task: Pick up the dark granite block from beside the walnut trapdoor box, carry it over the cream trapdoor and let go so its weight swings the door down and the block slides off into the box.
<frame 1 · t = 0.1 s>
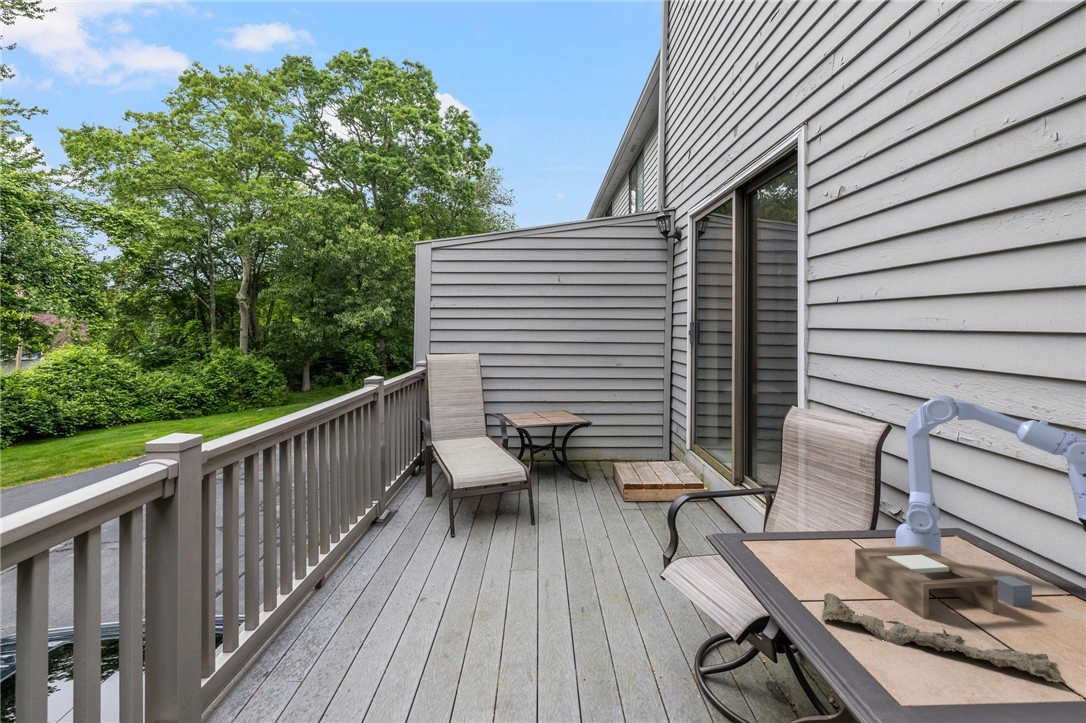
trapdoor box: (921, 594, 110), on the table
granite block: (1011, 601, 107), on the table
tree branch: (927, 644, 92), on the table
trapdoor: (917, 563, 111), point 6 cm above the table, hinge at 0.0°
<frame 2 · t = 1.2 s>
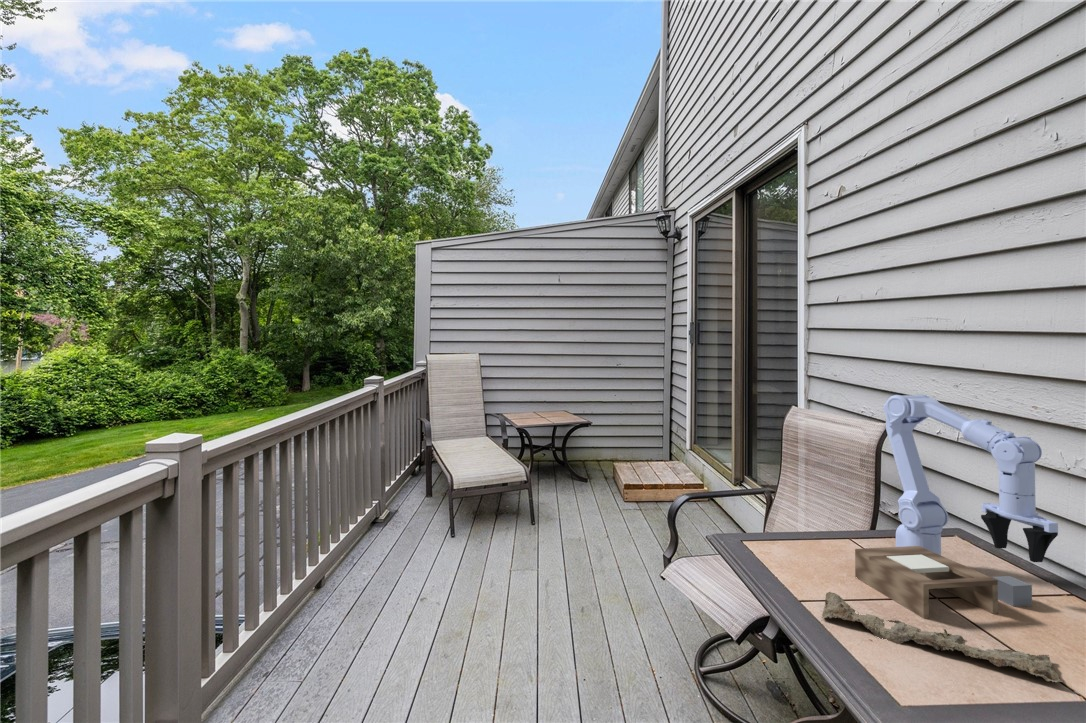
hand: (1017, 554, 106), 10 cm above the table, tool pointing down, fingers open, 7 cm apart
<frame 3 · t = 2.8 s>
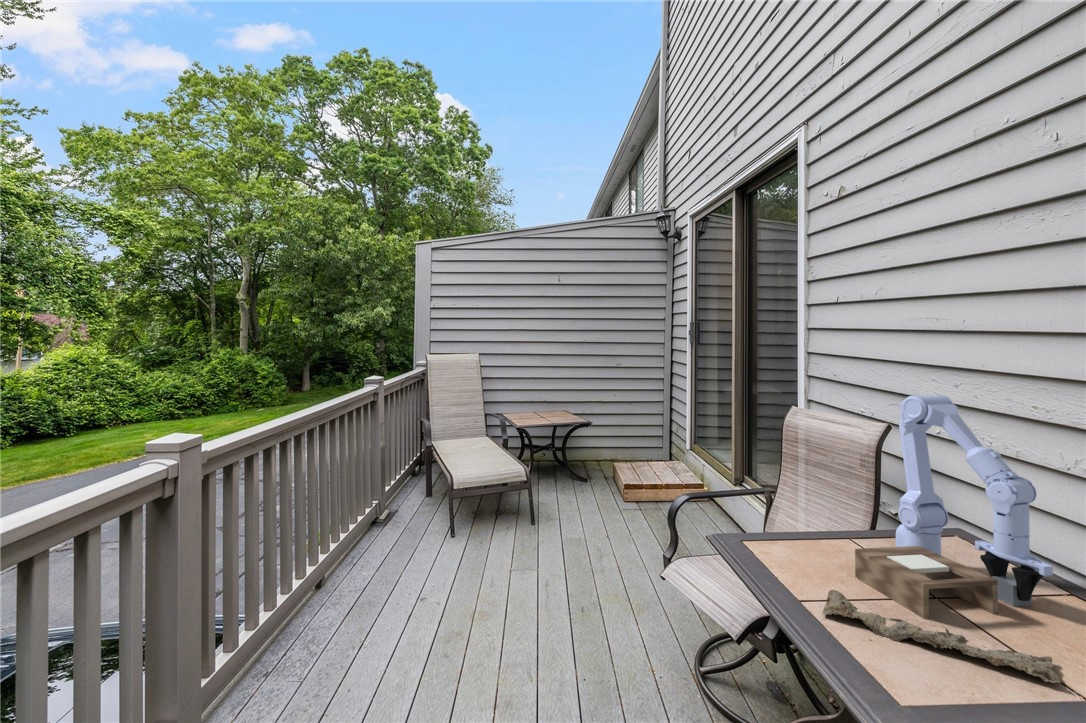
hand: (1011, 594, 107), 1 cm above the table, tool pointing down, fingers closed on granite block, 4 cm apart
granite block: (1011, 600, 107), on the table, touching gripper
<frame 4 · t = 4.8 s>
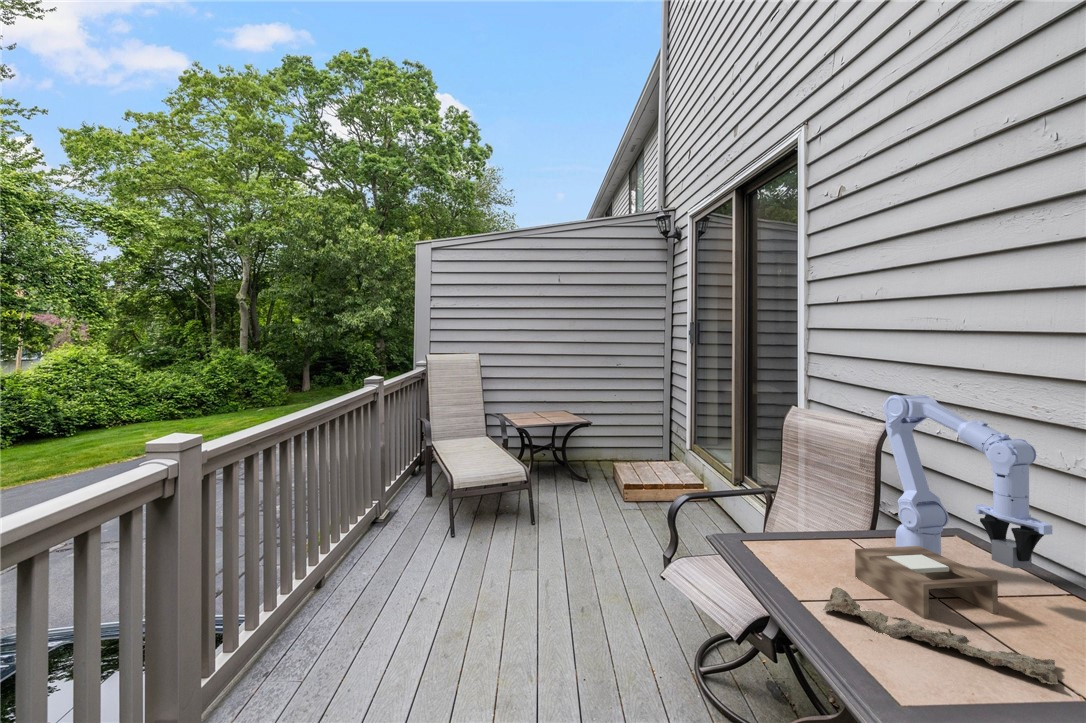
hand: (1011, 555, 107), 10 cm above the table, tool pointing down, fingers closed on granite block, 4 cm apart
granite block: (1011, 563, 107), point 8 cm above the table, touching gripper
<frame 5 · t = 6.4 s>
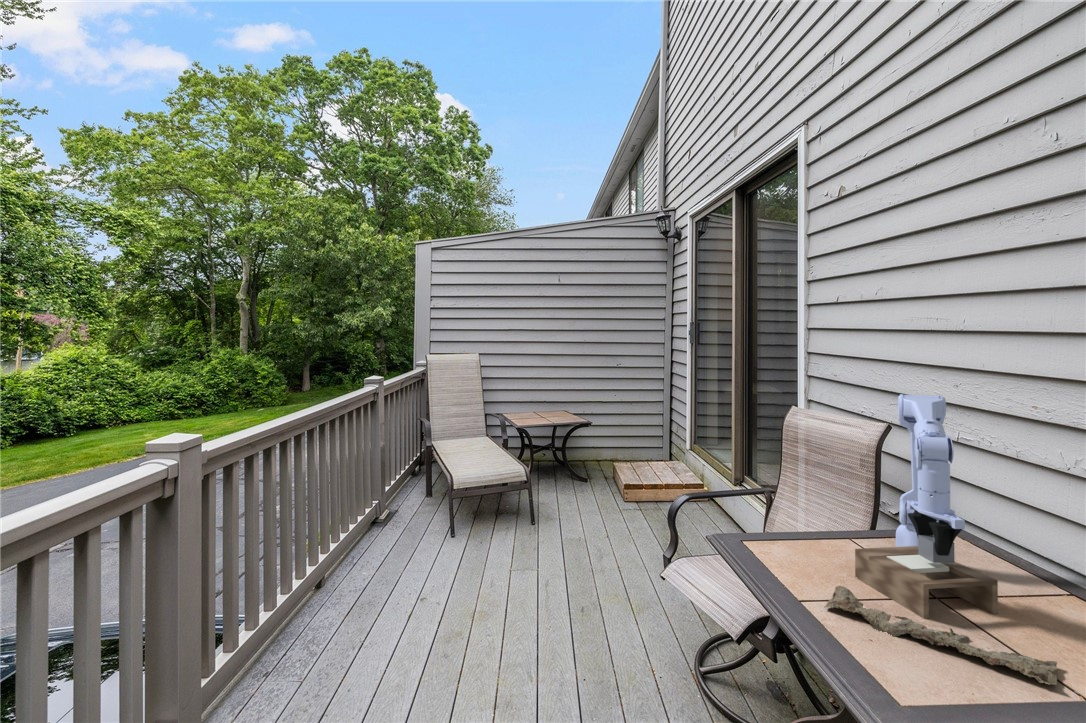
hand: (934, 550, 109), 10 cm above the table, tool pointing down, fingers closed on granite block, 4 cm apart
granite block: (936, 558, 109), point 9 cm above the table, touching gripper
when the fingers open (10 cm above the table, at t = 7.1 s): granite block drops 2 cm, resting on trapdoor.
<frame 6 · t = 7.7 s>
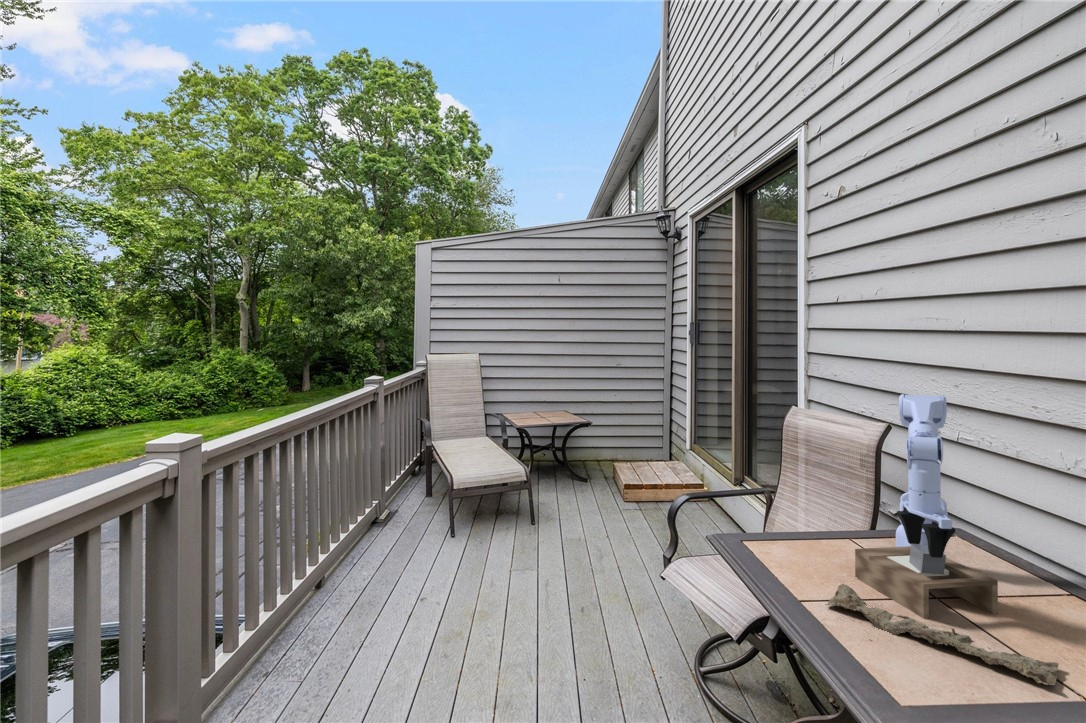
hand: (924, 550, 109), 10 cm above the table, tool pointing down, fingers open, 7 cm apart
granite block: (926, 568, 109), point 6 cm above the table, tilted 7°, touching trapdoor
trapdoor: (916, 565, 111), point 6 cm above the table, hinge at -6.9°, touching granite block
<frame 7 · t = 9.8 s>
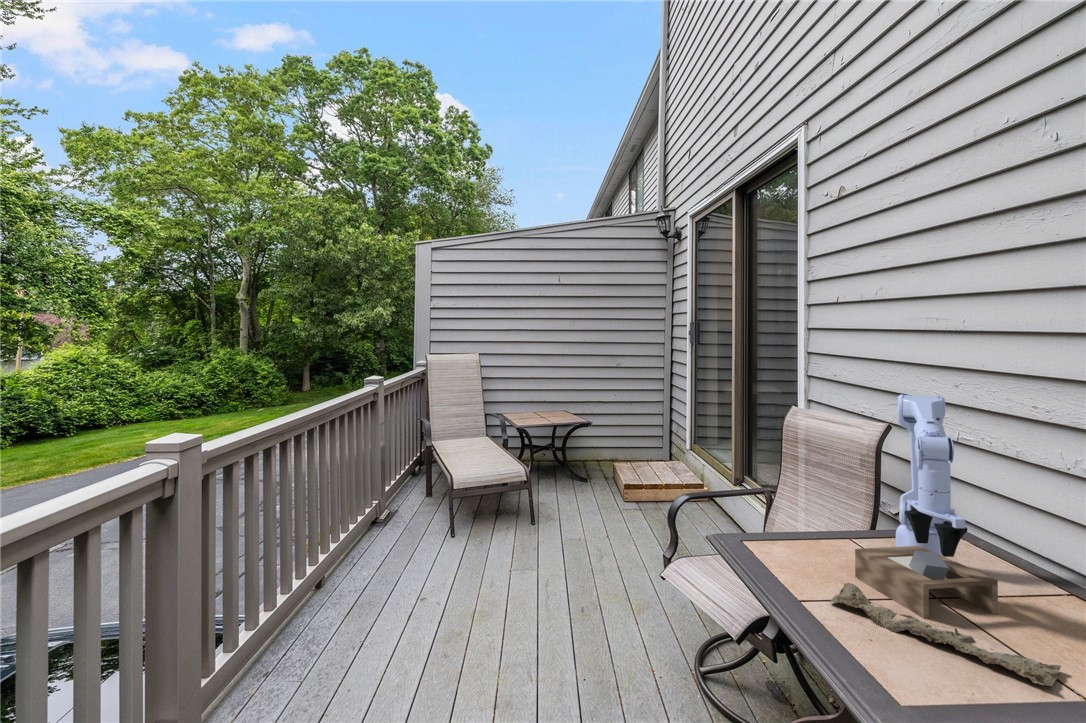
hand: (934, 549, 109), 10 cm above the table, tool pointing down, fingers open, 7 cm apart
granite block: (925, 574, 109), point 5 cm above the table, tilted 22°, touching trapdoor
trapdoor: (915, 569, 111), point 5 cm above the table, hinge at -21.8°, touching granite block
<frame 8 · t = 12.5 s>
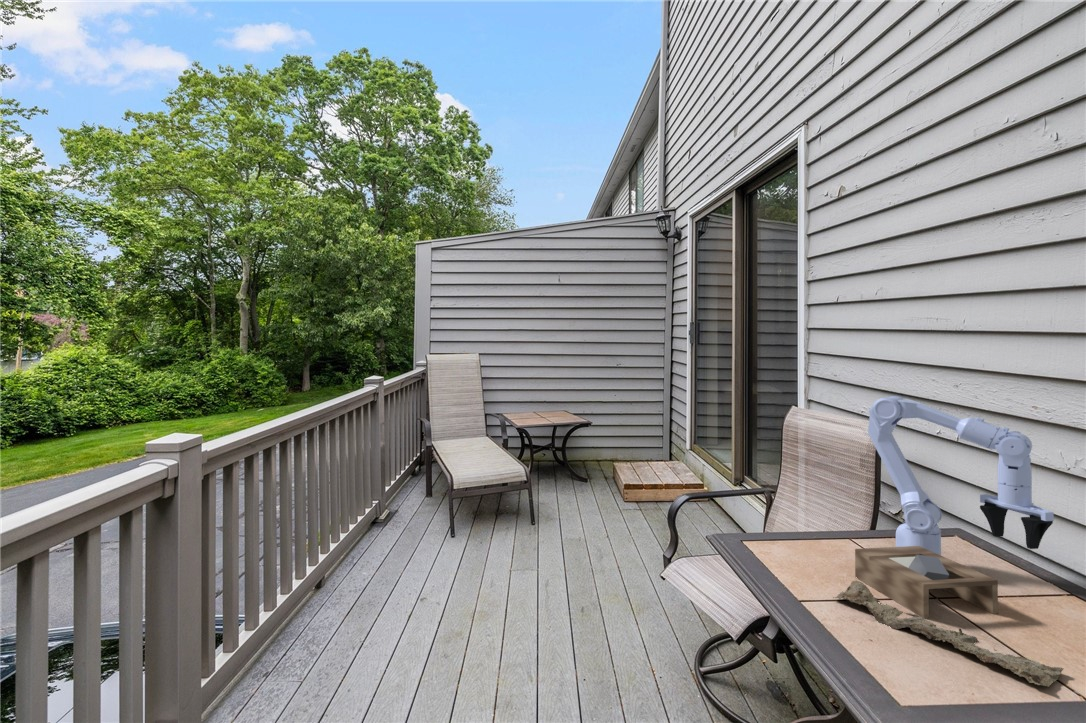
hand: (1014, 542, 113), 10 cm above the table, tool pointing down, fingers open, 7 cm apart
granite block: (923, 577, 110), point 4 cm above the table, tilted 31°, touching trapdoor
trapdoor: (914, 571, 111), point 4 cm above the table, hinge at -30.5°, touching granite block
at the end: granite block point 3.9 cm above the table; granite block 0.5 cm from the trapdoor box (horizontally); the gripper is holding nothing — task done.
